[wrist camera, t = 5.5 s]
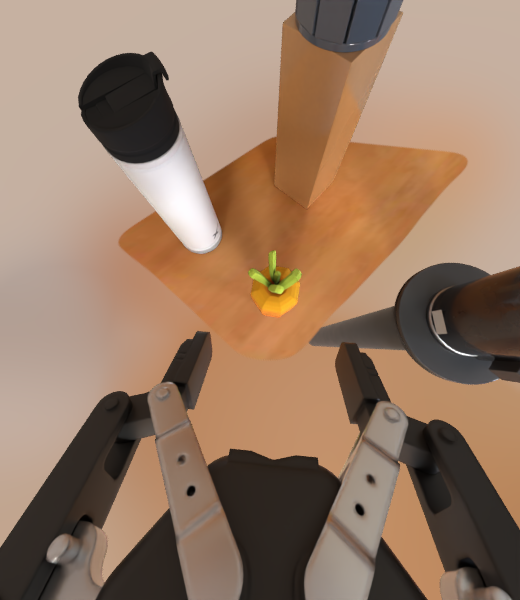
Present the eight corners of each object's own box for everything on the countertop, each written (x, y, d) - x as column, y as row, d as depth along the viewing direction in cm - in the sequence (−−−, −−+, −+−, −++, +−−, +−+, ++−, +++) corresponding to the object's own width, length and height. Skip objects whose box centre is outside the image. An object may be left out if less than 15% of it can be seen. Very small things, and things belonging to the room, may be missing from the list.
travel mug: (231, 240, 33) (181, 88, 13) (194, 261, 32) (84, 136, 13) (212, 209, 34) (140, 28, 15) (175, 229, 34) (49, 70, 14)
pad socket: (337, 180, 35) (471, -125, 12) (306, 213, 34) (389, -52, 11) (301, 154, 36) (360, -167, 13) (270, 186, 35) (277, -105, 12)
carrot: (248, 312, 31) (232, 282, 16) (267, 283, 31) (268, 231, 17) (277, 331, 30) (288, 318, 15) (296, 302, 31) (323, 263, 16)
